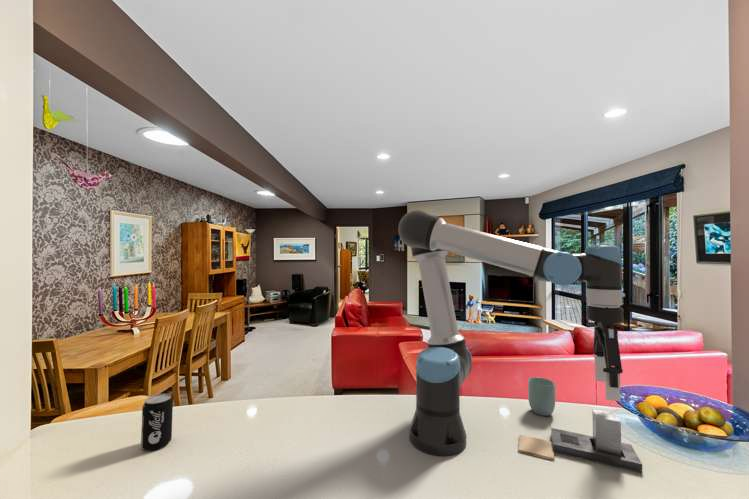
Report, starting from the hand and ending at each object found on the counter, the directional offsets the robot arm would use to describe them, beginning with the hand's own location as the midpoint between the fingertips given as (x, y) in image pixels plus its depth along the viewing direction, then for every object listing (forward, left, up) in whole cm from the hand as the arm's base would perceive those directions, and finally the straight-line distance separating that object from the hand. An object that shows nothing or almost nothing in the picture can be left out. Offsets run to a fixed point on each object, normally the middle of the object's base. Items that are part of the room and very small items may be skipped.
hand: (606, 390), depth 81 cm
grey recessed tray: (-3, 0, -16) cm, 17 cm away
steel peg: (0, 0, -16) cm, 16 cm away
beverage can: (-105, -48, -17) cm, 117 cm away
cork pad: (-16, -4, -16) cm, 23 cm away
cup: (-14, +19, -17) cm, 29 cm away
